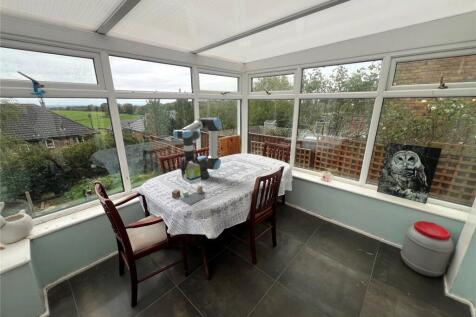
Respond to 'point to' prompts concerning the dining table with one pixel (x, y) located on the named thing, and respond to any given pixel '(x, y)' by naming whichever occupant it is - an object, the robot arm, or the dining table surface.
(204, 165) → the robot arm
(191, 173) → the tea box
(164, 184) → the dining table surface
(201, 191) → the beech cylinder
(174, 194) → the walnut block
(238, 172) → the dining table surface
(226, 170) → the dining table surface
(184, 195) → the sage cube
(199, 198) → the slate mat
